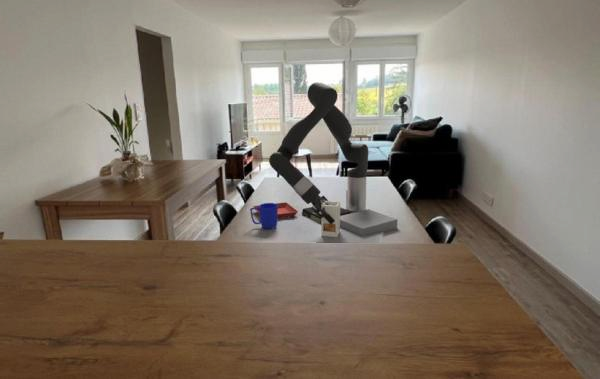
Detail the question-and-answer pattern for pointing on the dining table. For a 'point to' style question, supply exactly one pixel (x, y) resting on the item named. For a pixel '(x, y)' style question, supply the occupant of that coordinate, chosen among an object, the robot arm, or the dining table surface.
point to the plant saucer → (283, 210)
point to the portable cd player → (312, 215)
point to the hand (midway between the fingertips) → (334, 219)
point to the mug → (267, 215)
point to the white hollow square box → (334, 212)
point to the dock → (367, 222)
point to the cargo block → (330, 227)
